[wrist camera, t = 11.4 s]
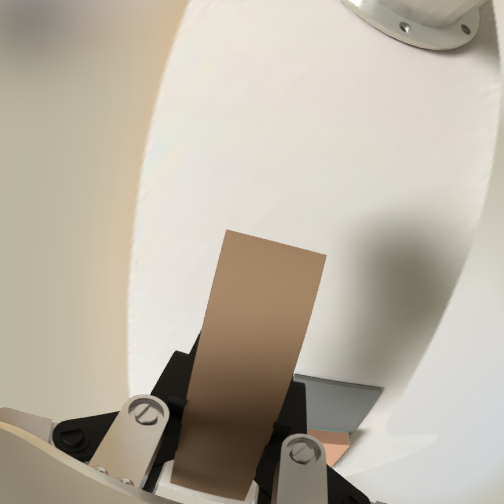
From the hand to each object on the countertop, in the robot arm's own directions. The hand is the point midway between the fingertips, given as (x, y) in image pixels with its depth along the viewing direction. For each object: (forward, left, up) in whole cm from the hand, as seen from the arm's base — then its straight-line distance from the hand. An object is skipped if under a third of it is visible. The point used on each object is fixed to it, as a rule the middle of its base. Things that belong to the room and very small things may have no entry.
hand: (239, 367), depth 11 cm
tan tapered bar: (+2, 0, 0) cm, 2 cm away
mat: (+15, +9, -9) cm, 20 cm away
